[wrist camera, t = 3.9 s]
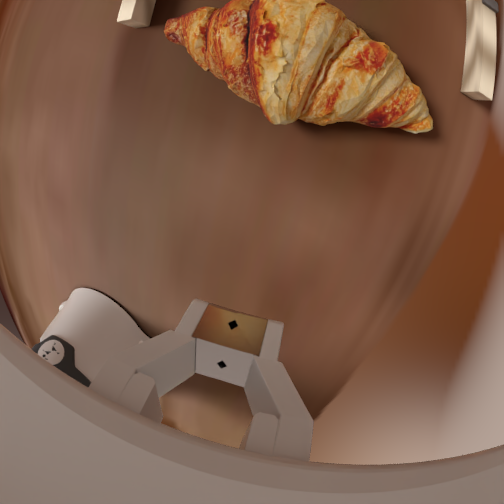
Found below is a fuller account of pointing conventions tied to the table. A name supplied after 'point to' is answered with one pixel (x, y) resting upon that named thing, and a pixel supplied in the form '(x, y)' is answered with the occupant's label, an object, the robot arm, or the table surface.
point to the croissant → (302, 63)
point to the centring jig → (476, 54)
